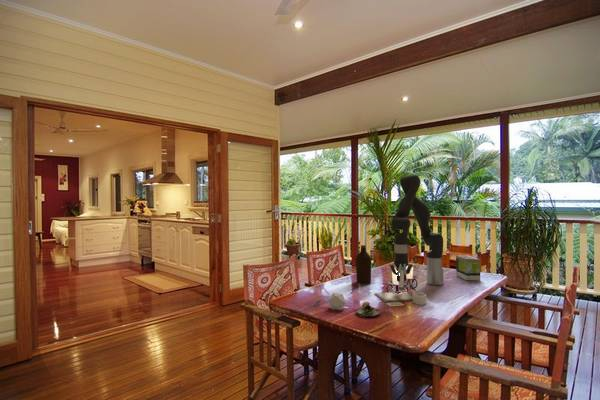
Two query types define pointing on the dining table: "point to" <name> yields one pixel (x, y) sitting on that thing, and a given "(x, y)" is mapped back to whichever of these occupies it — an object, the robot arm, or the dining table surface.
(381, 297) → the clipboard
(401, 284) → the marker
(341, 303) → the white faceted polyhedron
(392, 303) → the word card
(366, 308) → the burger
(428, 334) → the dining table surface
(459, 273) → the tea box
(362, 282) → the olive oil
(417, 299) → the pen cup
